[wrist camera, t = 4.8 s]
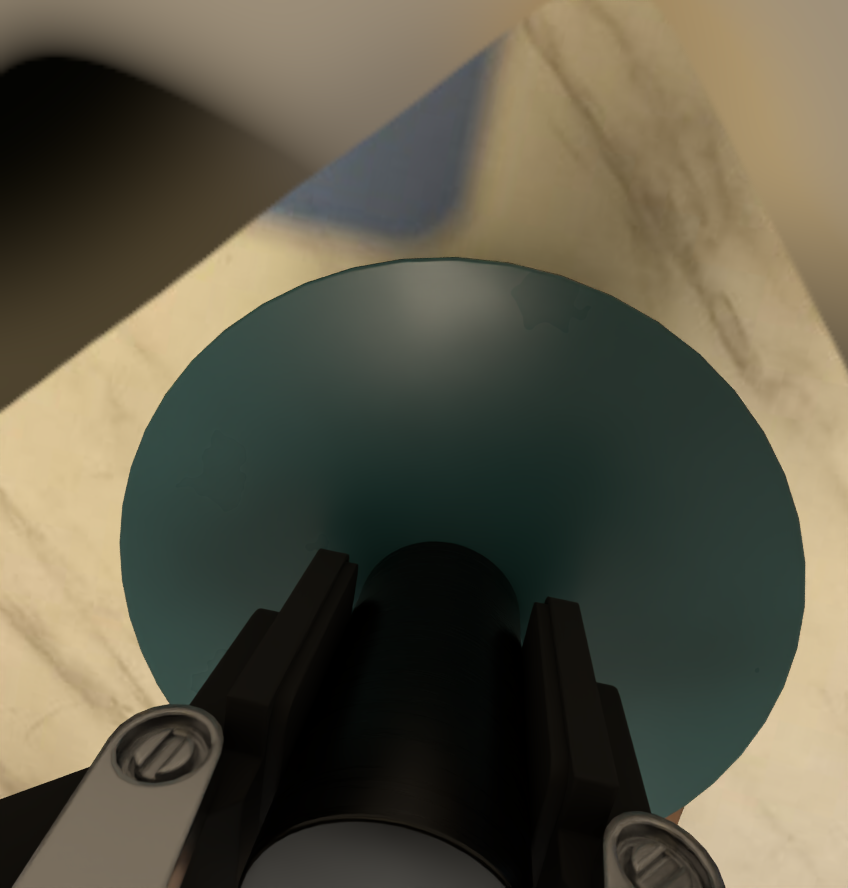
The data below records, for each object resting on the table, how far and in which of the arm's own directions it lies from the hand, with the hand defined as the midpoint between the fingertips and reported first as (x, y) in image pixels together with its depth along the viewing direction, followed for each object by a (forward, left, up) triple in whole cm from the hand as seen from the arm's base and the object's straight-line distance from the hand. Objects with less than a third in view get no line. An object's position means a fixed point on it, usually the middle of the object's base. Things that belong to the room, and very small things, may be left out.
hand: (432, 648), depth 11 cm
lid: (0, 0, -2) cm, 2 cm away
